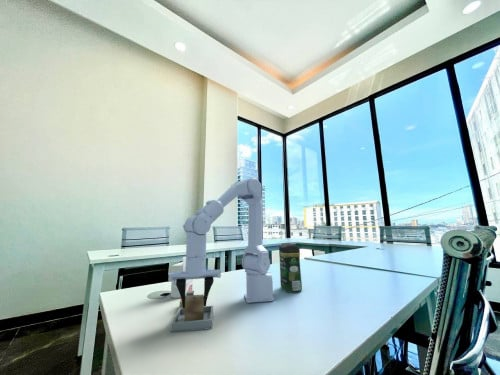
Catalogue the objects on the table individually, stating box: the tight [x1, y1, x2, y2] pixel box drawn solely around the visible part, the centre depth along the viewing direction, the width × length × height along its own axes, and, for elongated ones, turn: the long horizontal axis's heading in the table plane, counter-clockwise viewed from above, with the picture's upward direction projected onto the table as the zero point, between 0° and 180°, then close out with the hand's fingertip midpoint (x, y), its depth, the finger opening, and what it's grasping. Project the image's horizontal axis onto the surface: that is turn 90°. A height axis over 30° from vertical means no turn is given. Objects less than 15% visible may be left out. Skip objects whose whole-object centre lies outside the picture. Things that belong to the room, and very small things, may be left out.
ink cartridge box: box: [170, 255, 194, 299], centre depth 83 cm, size 9×5×15 cm, turn 168°
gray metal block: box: [186, 290, 195, 296], centre depth 68 cm, size 2×2×5 cm
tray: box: [170, 305, 214, 333], centre depth 58 cm, size 10×10×2 cm
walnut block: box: [184, 293, 204, 321], centre depth 59 cm, size 5×5×5 cm
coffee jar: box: [278, 242, 303, 293], centre depth 87 cm, size 10×8×19 cm
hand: (194, 306), depth 59 cm, fingers closed on walnut block, 5 cm apart
